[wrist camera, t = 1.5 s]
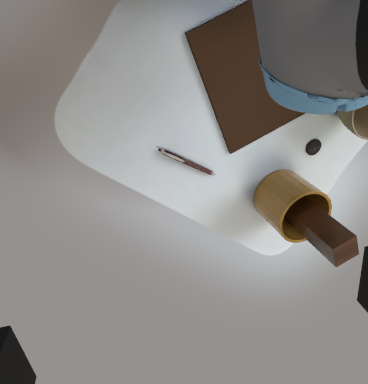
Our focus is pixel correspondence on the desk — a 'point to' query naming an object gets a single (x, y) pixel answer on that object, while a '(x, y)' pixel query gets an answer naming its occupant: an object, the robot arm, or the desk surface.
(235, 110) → the mat
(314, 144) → the coin
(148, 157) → the desk surface
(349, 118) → the bowl
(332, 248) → the block
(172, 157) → the pen
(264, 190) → the wooden pot
